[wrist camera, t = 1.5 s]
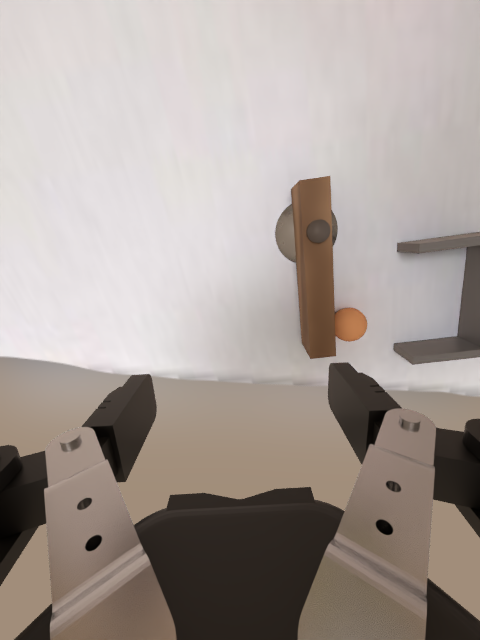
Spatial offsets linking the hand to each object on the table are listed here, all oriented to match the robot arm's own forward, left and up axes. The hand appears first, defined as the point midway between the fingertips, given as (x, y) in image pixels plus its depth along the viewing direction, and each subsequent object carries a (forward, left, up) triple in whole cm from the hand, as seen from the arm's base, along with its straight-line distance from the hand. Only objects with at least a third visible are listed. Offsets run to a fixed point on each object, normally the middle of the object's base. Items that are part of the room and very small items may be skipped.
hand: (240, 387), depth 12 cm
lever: (-7, -2, -17) cm, 18 cm away
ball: (-10, +3, -17) cm, 20 cm away
